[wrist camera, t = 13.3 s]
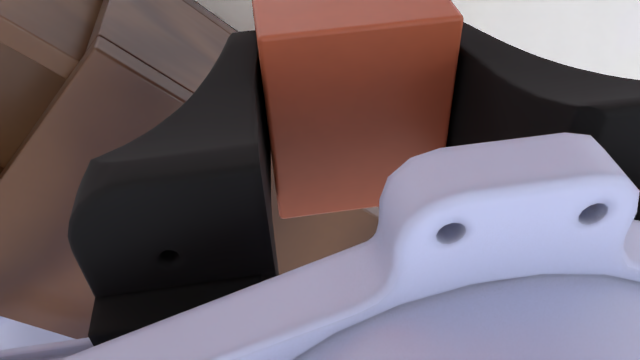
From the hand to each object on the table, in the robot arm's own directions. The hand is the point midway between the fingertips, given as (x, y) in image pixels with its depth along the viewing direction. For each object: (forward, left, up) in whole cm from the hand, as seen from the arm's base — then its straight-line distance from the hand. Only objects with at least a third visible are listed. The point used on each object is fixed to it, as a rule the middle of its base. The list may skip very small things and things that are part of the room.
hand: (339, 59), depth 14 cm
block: (0, 0, -1) cm, 1 cm away
